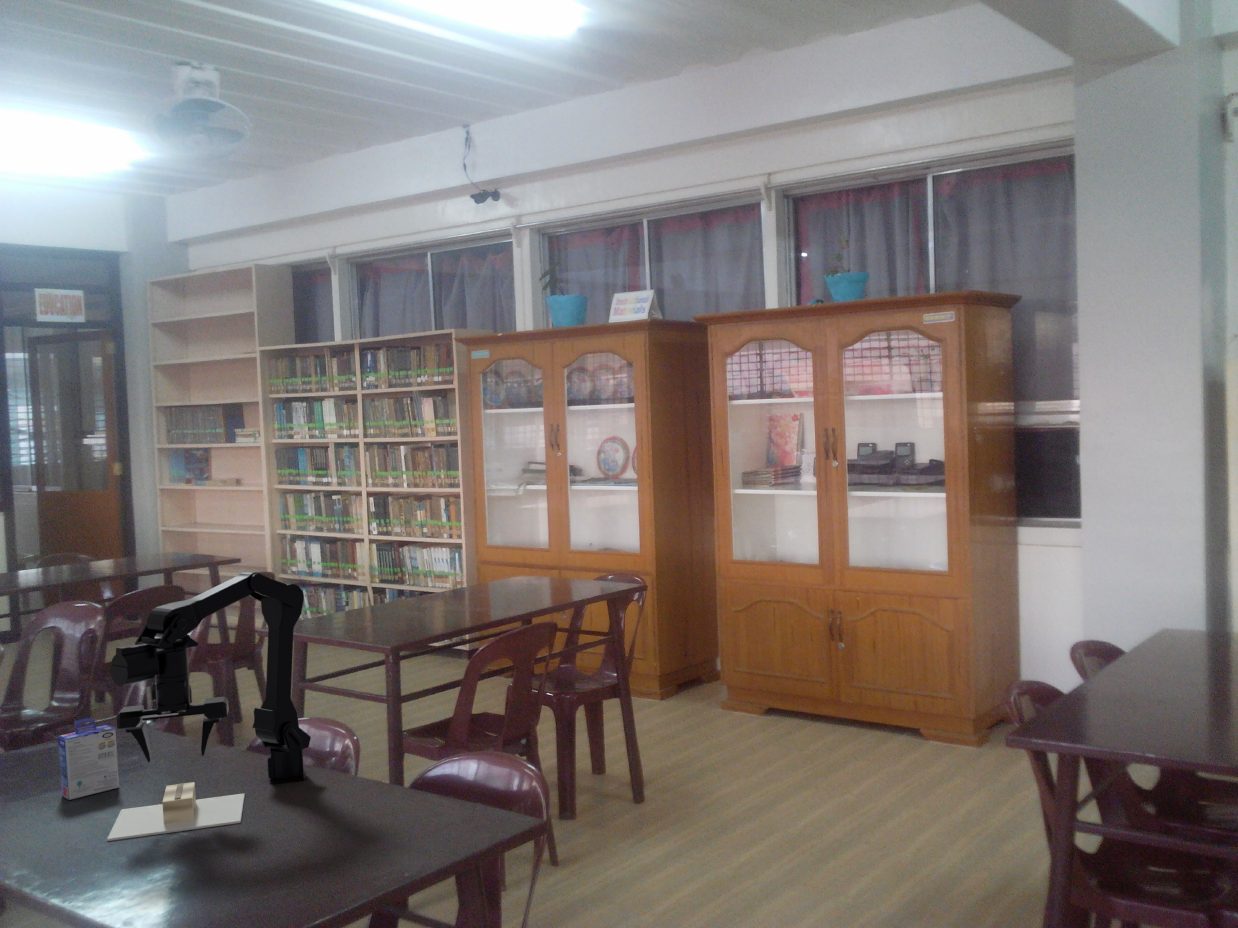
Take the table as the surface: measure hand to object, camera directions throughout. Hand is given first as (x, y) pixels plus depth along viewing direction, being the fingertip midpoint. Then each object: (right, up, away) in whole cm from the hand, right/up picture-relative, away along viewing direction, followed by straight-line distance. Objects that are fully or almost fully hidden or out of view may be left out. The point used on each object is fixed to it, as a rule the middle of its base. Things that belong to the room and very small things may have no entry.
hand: (176, 758), depth 200 cm
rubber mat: (+1, -11, -1) cm, 11 cm away
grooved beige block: (+1, -10, 0) cm, 10 cm away
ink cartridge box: (-24, -12, +17) cm, 32 cm away
